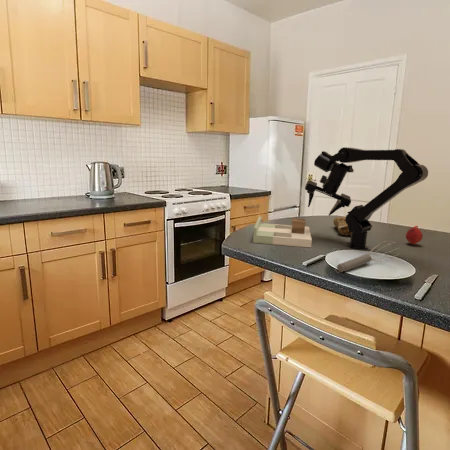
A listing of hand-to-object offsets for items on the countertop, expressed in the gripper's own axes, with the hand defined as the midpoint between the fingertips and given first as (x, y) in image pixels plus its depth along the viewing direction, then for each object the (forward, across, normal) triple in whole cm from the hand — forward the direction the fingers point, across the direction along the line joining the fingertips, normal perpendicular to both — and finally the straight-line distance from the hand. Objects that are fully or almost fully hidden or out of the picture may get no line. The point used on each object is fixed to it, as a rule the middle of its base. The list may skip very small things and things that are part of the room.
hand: (318, 210), depth 140 cm
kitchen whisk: (-1, -18, +31) cm, 36 cm away
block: (+9, +5, +8) cm, 13 cm away
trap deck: (+13, +10, +10) cm, 19 cm away
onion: (-2, -40, 0) cm, 40 cm away
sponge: (+9, -17, -12) cm, 23 cm away
